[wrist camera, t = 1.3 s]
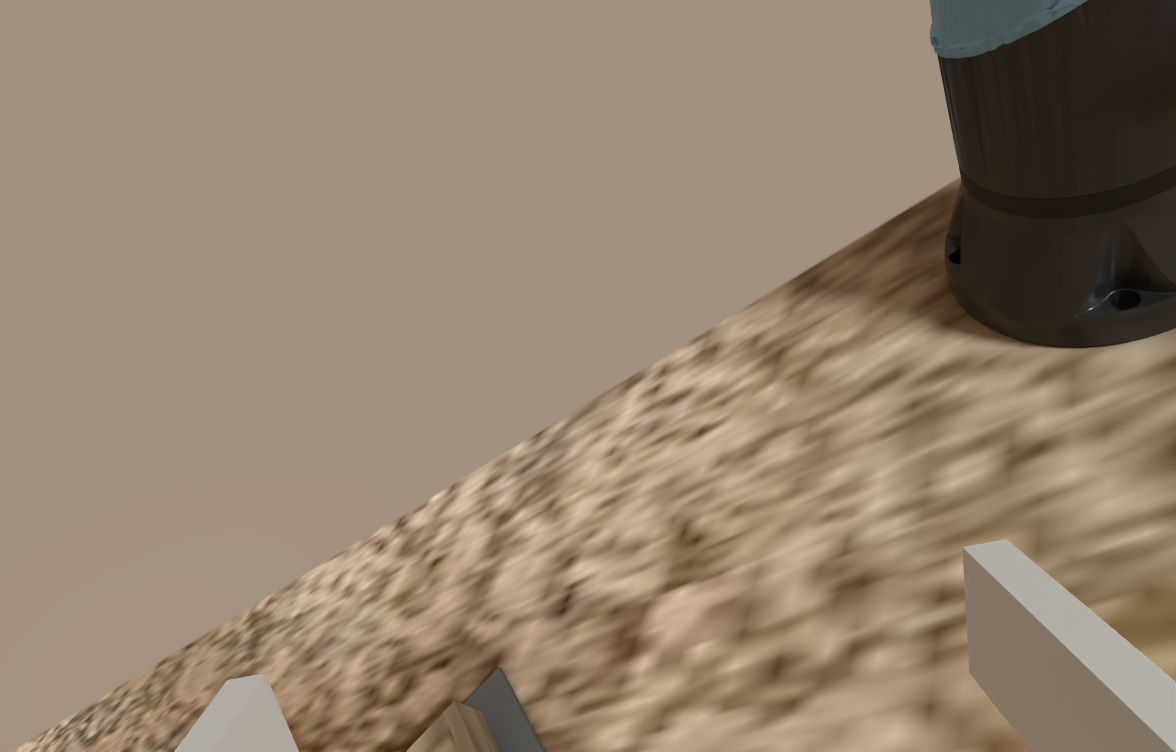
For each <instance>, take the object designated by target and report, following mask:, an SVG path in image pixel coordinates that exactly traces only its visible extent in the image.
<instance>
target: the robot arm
mask: <svg viewBox="0 0 1176 752" xmlns="http://www.w3.org/2000/svg"><path fill="white" fill-rule="evenodd" d="M930 6H931V16H932V24H931V30H930V40H931V44H932V46H933V47H934V50H935V52H936V53H937V55H938V60H939V65H940V70H941V75H942V81H943V86H944V92H945V96H946V102H947V107H948V112H949V118H950V122H951V128H952V133H953V139H954V143H955V149H956V154H957V159H958V163H959V169H960V174H961V184H960V188H959V192H958V196H957V199H956V203H955V207H954V211H953V214H952V218H951V222H950V226H949V229H948V233H947V237H946V242H945V263H946V268H947V273H948V277H949V281H950V285H951V289H952V291H953V293H954V296H955V297H956V299H957V301H958V302H959V303H960V305H961V306H962V307H963V308H964V309H965V311H967V312H968V313H969V314H970V315H971V316H972V317H973V318H975V319H976V320H977V321H979V322H980V323H982V324H983V325H985V326H987V327H989V328H991V329H993V330H995V331H997V332H999V333H1002V334H1005V335H1007V336H1010V337H1013V338H1017V339H1020V340H1024V341H1028V342H1033V343H1039V344H1046V345H1055V346H1073V347H1075V346H1100V345H1110V344H1117V343H1124V342H1129V341H1134V340H1138V339H1142V338H1146V337H1150V336H1154V335H1157V334H1160V333H1163V332H1166V331H1169V330H1172V329H1174V328H1176V0H930ZM963 564H964V582H965V599H966V617H967V634H968V652H969V669H970V674H971V675H972V676H973V678H974V679H975V680H976V681H977V683H978V684H979V685H980V687H981V688H982V689H983V690H984V692H985V693H986V694H987V696H988V697H989V698H990V699H991V701H992V702H993V703H994V704H995V706H996V707H997V708H998V710H999V711H1000V712H1001V713H1002V715H1003V716H1004V717H1005V719H1006V720H1007V721H1008V722H1009V724H1010V725H1011V726H1012V727H1013V729H1014V730H1015V731H1016V733H1017V734H1018V735H1019V736H1020V738H1021V739H1022V740H1023V742H1024V743H1025V744H1026V745H1027V747H1028V748H1029V749H1030V750H1031V752H1176V682H1175V681H1174V680H1173V679H1172V678H1171V677H1169V676H1168V675H1167V674H1166V673H1165V672H1164V671H1162V670H1161V669H1160V668H1159V667H1158V666H1156V665H1155V664H1154V663H1153V662H1152V661H1150V660H1149V659H1148V658H1147V657H1146V656H1145V655H1143V654H1142V653H1141V652H1140V651H1139V650H1137V649H1136V648H1135V647H1134V646H1133V645H1131V644H1130V643H1129V642H1128V641H1127V640H1126V639H1124V638H1123V637H1122V636H1121V635H1120V634H1118V633H1117V632H1116V631H1115V630H1114V629H1113V628H1111V627H1110V626H1109V625H1108V624H1107V623H1105V622H1104V621H1103V620H1102V619H1101V618H1099V617H1098V616H1097V615H1096V614H1095V613H1094V612H1092V611H1091V610H1090V609H1089V608H1088V607H1086V606H1085V605H1084V604H1083V603H1082V602H1080V601H1079V600H1078V599H1077V598H1076V597H1075V596H1073V595H1072V594H1071V593H1070V592H1069V591H1067V590H1066V589H1065V588H1064V587H1063V586H1061V585H1060V584H1059V583H1058V582H1057V581H1056V580H1054V579H1053V578H1052V577H1051V576H1050V575H1048V574H1047V573H1046V572H1045V571H1044V570H1042V569H1041V568H1040V567H1039V566H1038V565H1037V564H1035V563H1034V562H1033V561H1032V560H1031V559H1029V558H1028V557H1027V556H1026V555H1025V554H1023V553H1022V552H1021V551H1020V550H1019V549H1018V548H1016V547H1015V546H1014V545H1013V544H1012V543H1010V542H1009V541H1008V540H1007V539H1005V540H999V541H994V542H988V543H983V544H977V545H971V546H966V547H963ZM174 752H299V750H298V748H297V746H296V744H295V741H294V739H293V737H292V734H291V732H290V730H289V727H288V725H287V723H286V720H285V718H284V716H283V714H282V711H281V709H280V707H279V704H278V702H277V700H276V697H275V695H274V693H273V690H272V688H271V686H270V684H269V681H268V679H267V677H266V674H265V673H264V674H258V675H253V676H247V677H242V678H236V679H231V680H227V681H226V683H225V684H224V685H223V687H222V688H221V689H220V691H219V692H218V693H217V695H216V696H215V697H214V699H213V700H212V701H211V703H210V704H209V705H208V707H207V708H206V710H205V711H204V712H203V714H202V715H201V716H200V718H199V719H198V720H197V722H196V723H195V724H194V726H193V727H192V728H191V730H190V731H189V732H188V734H187V735H186V736H185V738H184V739H183V740H182V742H181V743H180V745H179V746H178V747H177V749H176V750H175V751H174Z"/></svg>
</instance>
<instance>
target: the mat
mask: <svg viewBox="0 0 1176 752" xmlns="http://www.w3.org/2000/svg"><path fill="white" fill-rule="evenodd" d="M464 705H466V706H469V707H471V708H474V709H477V710H479V711H481V713H482V715H483V717H484V719H485V721H486V723H487V726H488V728H489V730H490V732H491V734H492V737H493V739H494V741H495V743H496V745H497V747H498V750H499V752H545V750H544V748H543V746H542V744H541V743H540V741H539V739H538V737H537V735H536V733H535V731H534V729H533V727H532V725H531V724H530V722H529V720H528V718H527V716H526V714H525V712H524V710H523V708H522V706H521V704H520V703H519V701H518V699H517V697H516V695H515V693H514V691H513V689H512V687H511V685H510V684H509V682H508V680H507V678H506V676H505V674H504V672H503V670H502V669H501V668H499V667H498V668H497V669H496V670H495V671H494V672H493V673H492V674H491V675H490V676H489V677H488V678H487V680H486V681H485V682H484V683H483V684H482V685H481V686H480V687H479V688H478V689H477V690H476V691H475V692H474V693H473V694H472V695H471V696H470V698H469V699H468V700H467V701H466V702H465V703H464Z"/></svg>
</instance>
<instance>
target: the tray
mask: <svg viewBox="0 0 1176 752" xmlns="http://www.w3.org/2000/svg"><path fill="white" fill-rule="evenodd" d="M406 752H499V750H498V747H497V745H496V743H495V741H494V739H493V737H492V734H491V732H490V730H489V728H488V726H487V723H486V721H485V719H484V717H483V715H482V713H481V711H479V710H477V709H474V708H471V707H469V706H466V705H464V704H461V703H459V702H456V701H453V702H452V704H451V705H450V706H449V707H448V708H447V709H446V710H445V711H444V712H443V713H442V714H441V715H440V716H439V717H438V718H437V719H436V720H435V722H434V723H433V724H432V725H431V726H430V727H429V728H428V729H427V730H426V731H425V732H424V733H423V734H422V735H421V736H420V737H419V738H418V739H417V741H416V742H415V743H414V744H413V745H412V746H411V747H410V748H409V749H408V750H407V751H406Z"/></svg>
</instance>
